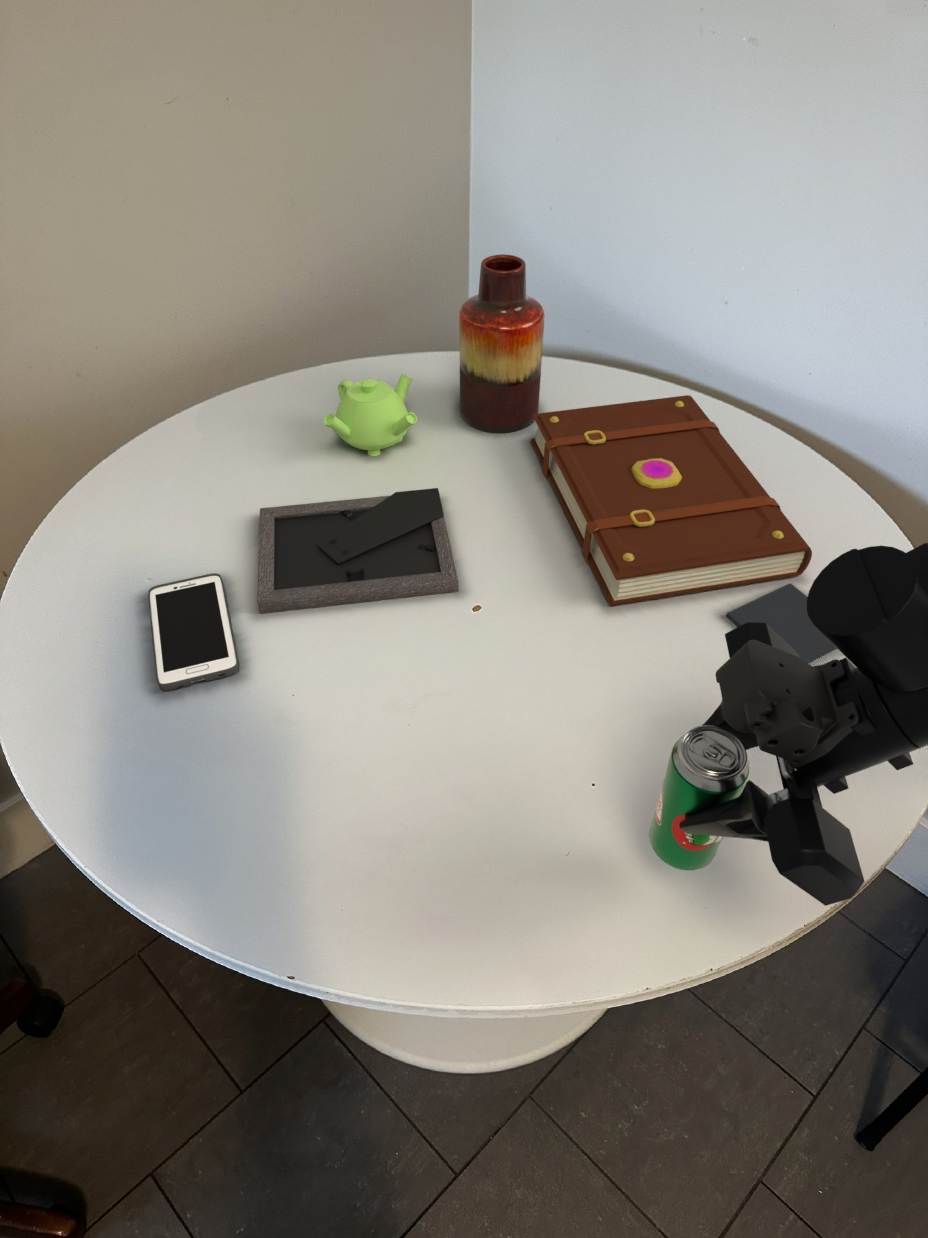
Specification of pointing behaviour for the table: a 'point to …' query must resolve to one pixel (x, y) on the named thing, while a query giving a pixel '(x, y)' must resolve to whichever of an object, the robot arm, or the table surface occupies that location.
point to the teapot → (372, 414)
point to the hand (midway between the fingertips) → (677, 794)
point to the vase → (500, 349)
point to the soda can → (696, 793)
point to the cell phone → (191, 632)
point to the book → (663, 501)
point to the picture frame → (354, 551)
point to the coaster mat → (786, 621)
